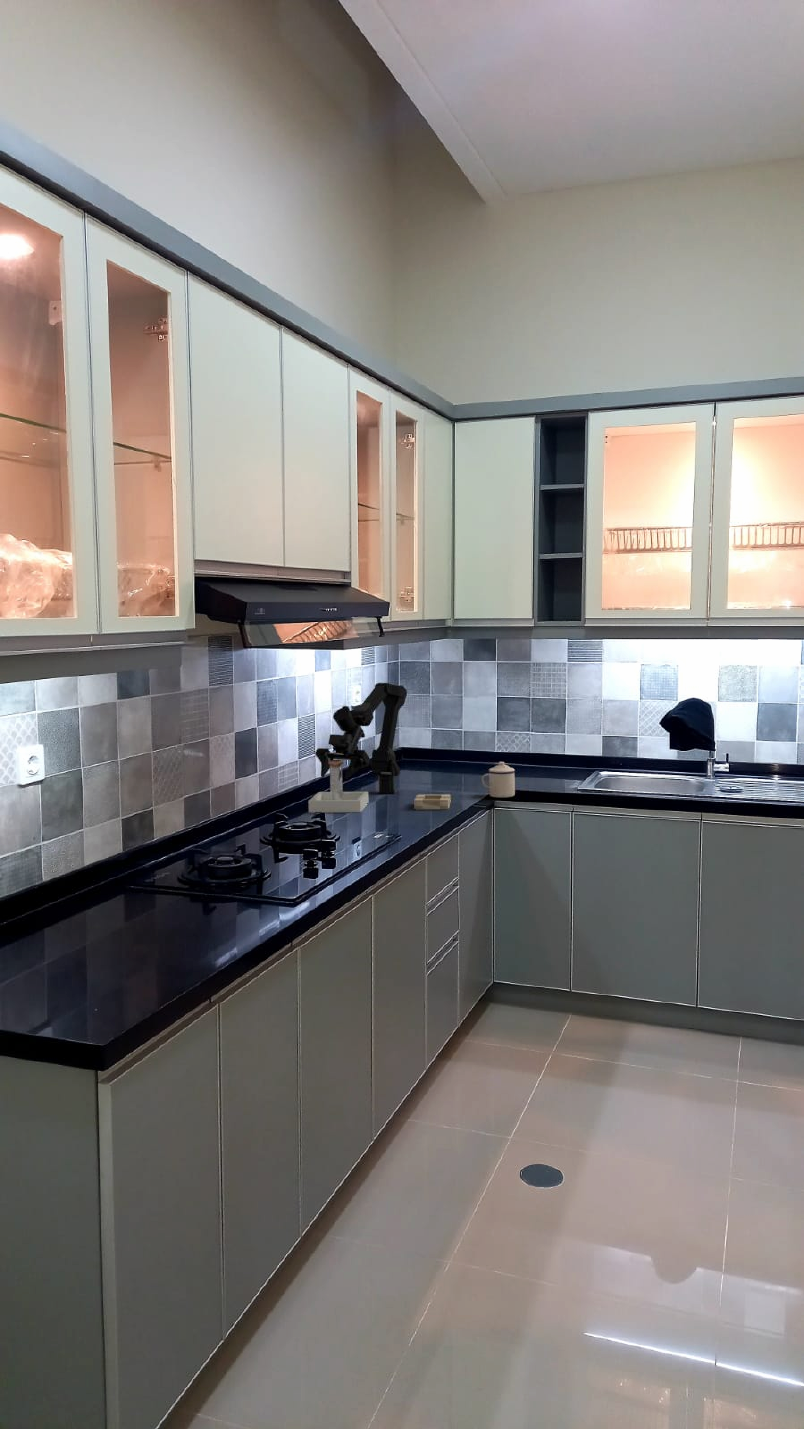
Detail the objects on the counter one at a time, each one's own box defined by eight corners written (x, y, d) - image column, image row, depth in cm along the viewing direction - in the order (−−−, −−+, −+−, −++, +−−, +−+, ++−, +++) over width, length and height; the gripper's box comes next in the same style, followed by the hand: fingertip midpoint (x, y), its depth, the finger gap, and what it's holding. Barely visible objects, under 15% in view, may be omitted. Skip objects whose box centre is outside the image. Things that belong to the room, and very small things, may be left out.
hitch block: (417, 803, 340) (417, 794, 339) (450, 803, 338) (450, 794, 338) (414, 809, 329) (414, 800, 329) (448, 809, 328) (448, 800, 327)
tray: (319, 803, 346) (318, 792, 345) (368, 802, 344) (368, 791, 343) (308, 812, 329) (308, 801, 329) (360, 812, 327) (360, 800, 327)
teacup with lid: (519, 794, 352) (519, 760, 351) (509, 798, 344) (508, 764, 343) (488, 792, 358) (487, 759, 357) (477, 796, 350) (476, 762, 349)
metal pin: (340, 804, 338) (339, 759, 337) (346, 806, 334) (345, 761, 333) (327, 805, 336) (326, 760, 335) (333, 807, 332) (331, 762, 330)
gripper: (316, 724, 340) (299, 761, 332) (364, 725, 331) (348, 763, 323) (330, 744, 348) (313, 781, 339) (377, 746, 339) (361, 784, 330)
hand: (333, 777), depth 333 cm, fingers open, 9 cm apart
